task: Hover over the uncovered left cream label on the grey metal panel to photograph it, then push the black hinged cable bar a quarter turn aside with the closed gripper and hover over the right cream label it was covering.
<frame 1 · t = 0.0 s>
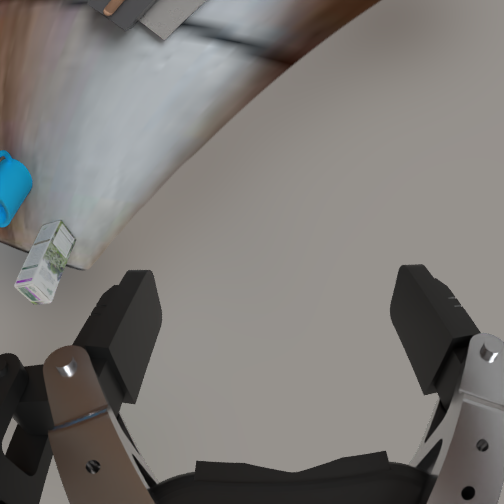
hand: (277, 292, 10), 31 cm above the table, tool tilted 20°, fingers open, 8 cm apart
mug: (14, 167, 41), on the table
syrup box: (60, 231, 53), on the table
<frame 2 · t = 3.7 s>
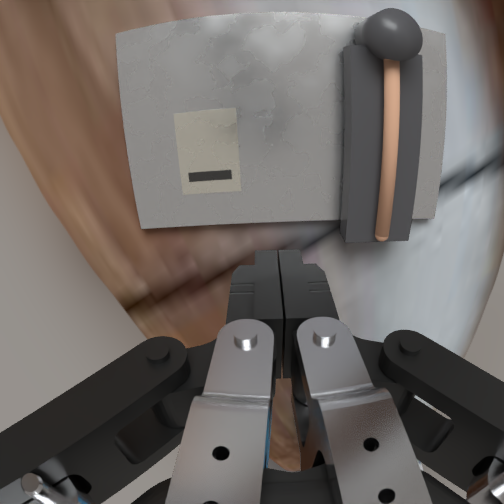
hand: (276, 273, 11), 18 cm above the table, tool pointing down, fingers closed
cable arm: (388, 130, 21), point 4 cm above the table, hinge at 0.0°
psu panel: (292, 116, 24), on the table
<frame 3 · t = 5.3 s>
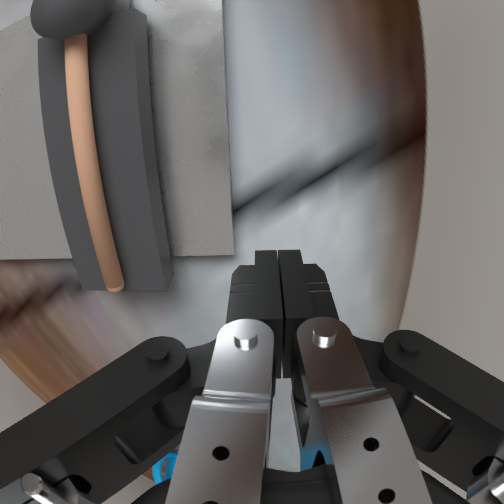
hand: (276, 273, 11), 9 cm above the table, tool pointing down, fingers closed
cable arm: (89, 137, 14), point 3 cm above the table, hinge at 0.0°
mug: (187, 456, 38), on the table
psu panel: (31, 139, 17), on the table
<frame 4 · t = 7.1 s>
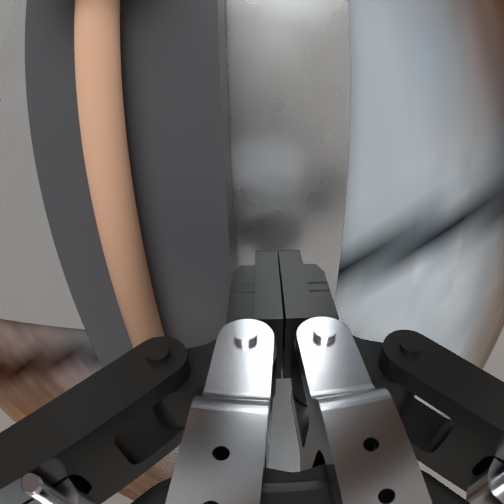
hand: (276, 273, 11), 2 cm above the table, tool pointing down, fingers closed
cable arm: (117, 164, 8), point 4 cm above the table, hinge at 0.0°, touching gripper
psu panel: (17, 155, 11), on the table
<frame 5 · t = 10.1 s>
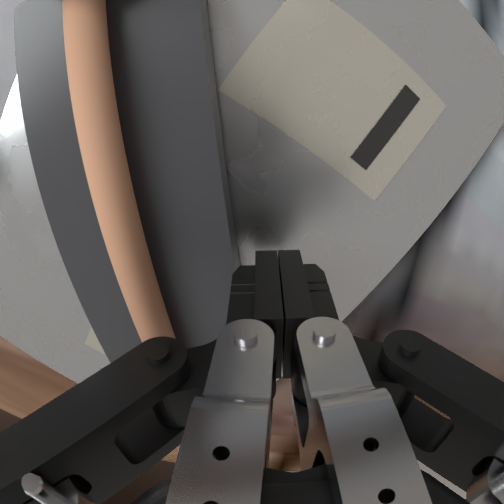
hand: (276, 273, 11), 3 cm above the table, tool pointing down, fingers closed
cable arm: (115, 169, 8), point 4 cm above the table, hinge at -50.2°, touching gripper
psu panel: (180, 199, 13), on the table
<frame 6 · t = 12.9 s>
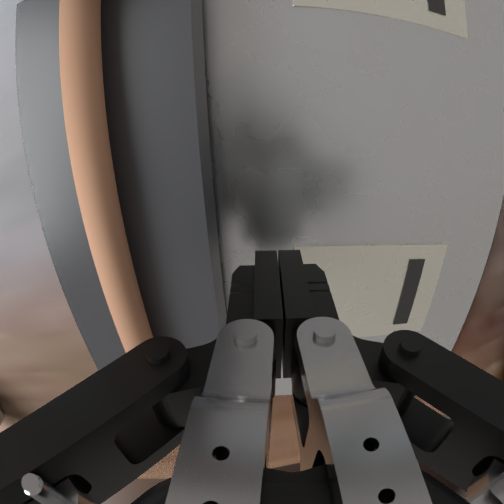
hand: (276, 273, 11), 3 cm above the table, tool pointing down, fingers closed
cable arm: (102, 167, 8), point 4 cm above the table, hinge at -89.1°
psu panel: (319, 126, 11), on the table
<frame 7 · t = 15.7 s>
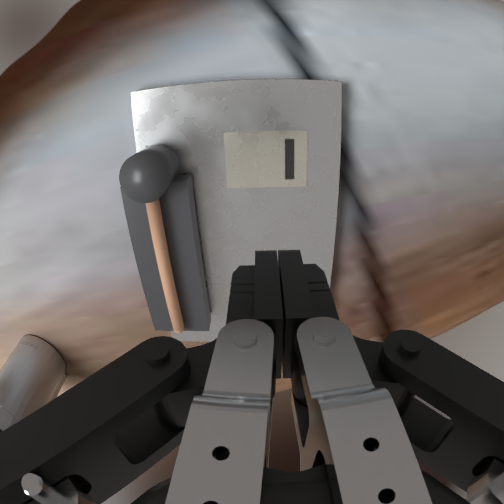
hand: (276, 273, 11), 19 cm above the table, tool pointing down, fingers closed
cable arm: (164, 252, 29), point 4 cm above the table, hinge at -89.1°
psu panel: (241, 229, 31), on the table
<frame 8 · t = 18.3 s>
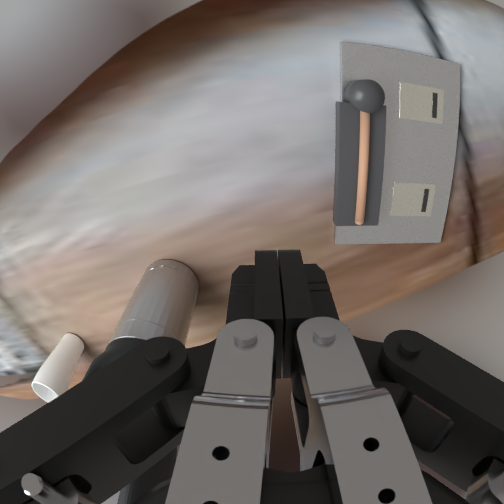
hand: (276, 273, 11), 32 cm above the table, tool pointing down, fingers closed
cable arm: (362, 155, 36), point 3 cm above the table, hinge at -89.1°
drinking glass: (74, 340, 58), on the table
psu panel: (400, 149, 39), on the table
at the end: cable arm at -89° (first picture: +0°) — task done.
